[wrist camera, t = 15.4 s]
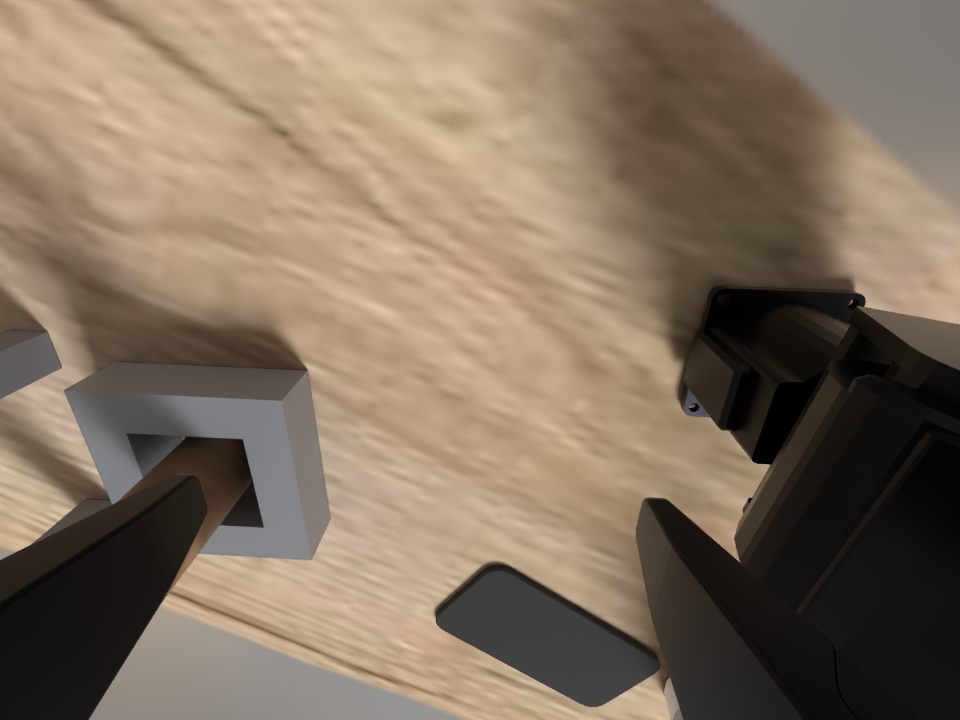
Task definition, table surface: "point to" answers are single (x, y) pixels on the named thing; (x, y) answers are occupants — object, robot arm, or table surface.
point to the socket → (216, 414)
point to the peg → (205, 481)
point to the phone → (546, 637)
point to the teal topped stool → (19, 363)
